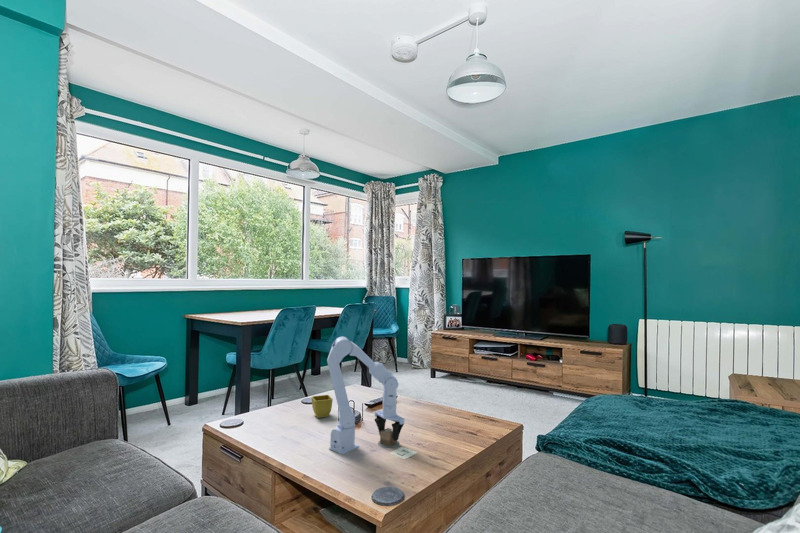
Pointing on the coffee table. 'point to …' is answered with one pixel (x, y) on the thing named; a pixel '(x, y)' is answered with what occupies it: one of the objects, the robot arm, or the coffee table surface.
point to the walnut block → (387, 437)
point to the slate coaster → (390, 446)
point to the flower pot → (322, 405)
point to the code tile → (403, 452)
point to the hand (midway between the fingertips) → (388, 437)
